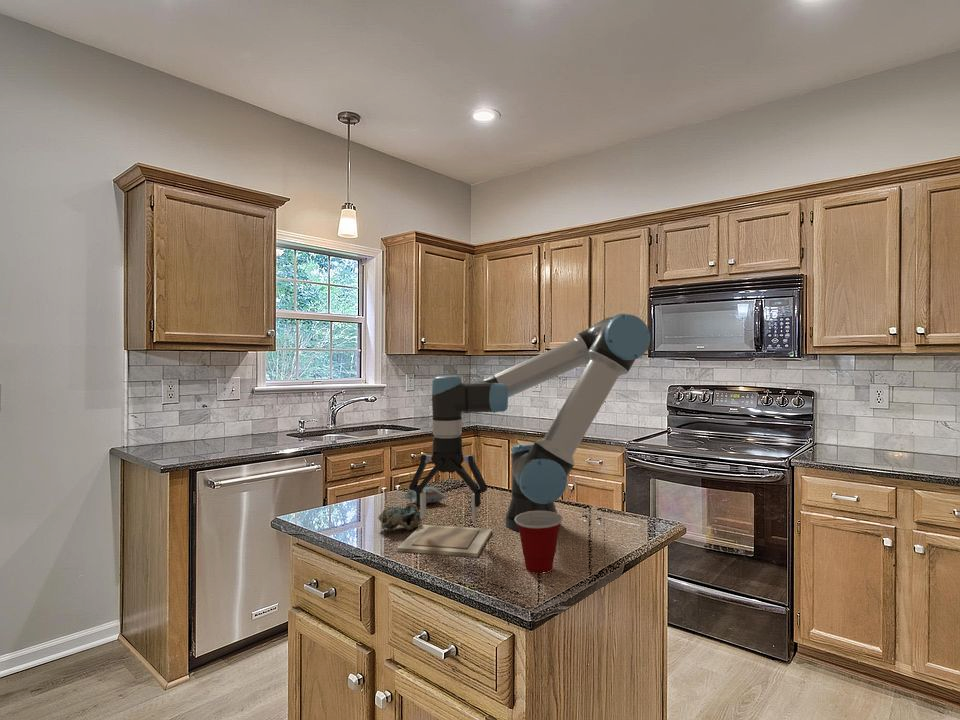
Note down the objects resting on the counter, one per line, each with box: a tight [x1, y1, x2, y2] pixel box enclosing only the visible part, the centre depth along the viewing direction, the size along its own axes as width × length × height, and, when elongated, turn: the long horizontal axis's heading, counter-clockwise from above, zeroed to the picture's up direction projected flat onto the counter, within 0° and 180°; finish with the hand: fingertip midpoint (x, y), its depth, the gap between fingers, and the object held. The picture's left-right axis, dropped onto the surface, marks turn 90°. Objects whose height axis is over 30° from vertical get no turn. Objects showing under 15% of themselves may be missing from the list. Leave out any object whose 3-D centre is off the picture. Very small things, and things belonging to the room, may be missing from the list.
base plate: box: [396, 524, 493, 558], centre depth 149 cm, size 20×20×1 cm
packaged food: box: [404, 486, 448, 505], centre depth 187 cm, size 9×12×5 cm
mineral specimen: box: [377, 503, 423, 531], centre depth 159 cm, size 12×9×8 cm
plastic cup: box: [514, 511, 563, 574], centre depth 129 cm, size 11×11×12 cm
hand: (448, 518), depth 149 cm, fingers open, 13 cm apart
